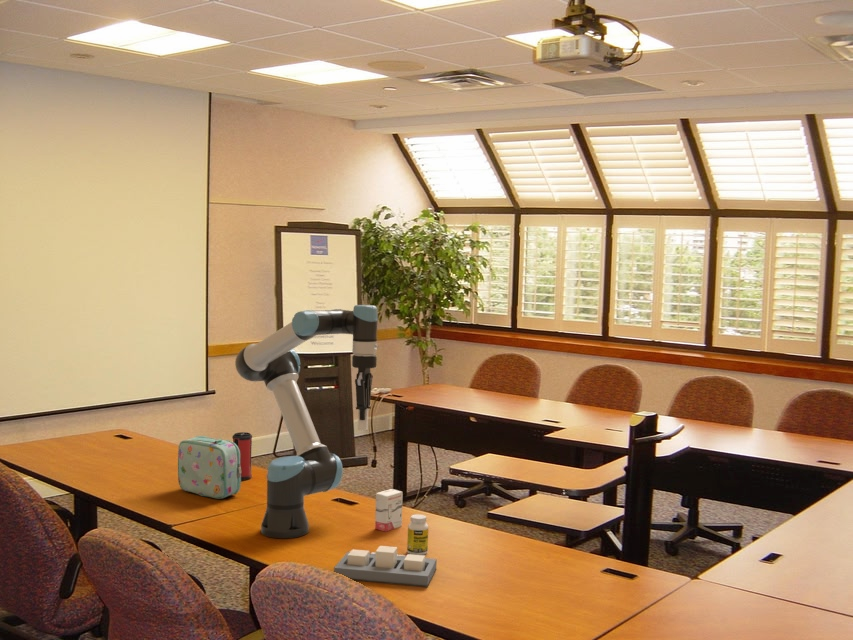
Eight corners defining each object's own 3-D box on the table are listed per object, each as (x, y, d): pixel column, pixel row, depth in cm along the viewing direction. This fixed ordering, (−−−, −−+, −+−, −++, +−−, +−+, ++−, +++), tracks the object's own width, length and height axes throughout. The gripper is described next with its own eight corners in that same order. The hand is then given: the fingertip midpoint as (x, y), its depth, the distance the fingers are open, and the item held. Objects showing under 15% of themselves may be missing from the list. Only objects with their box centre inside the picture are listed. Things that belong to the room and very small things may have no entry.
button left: (347, 570, 237) (347, 554, 237) (352, 564, 242) (352, 549, 242) (364, 572, 237) (365, 556, 236) (369, 566, 241) (369, 550, 241)
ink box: (385, 532, 276) (386, 496, 275) (374, 529, 279) (374, 493, 278) (402, 526, 283) (403, 491, 282) (391, 523, 286) (392, 488, 285)
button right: (403, 576, 235) (404, 559, 234) (407, 569, 239) (407, 554, 239) (421, 577, 234) (421, 561, 233) (424, 571, 239) (425, 555, 238)
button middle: (375, 567, 236) (375, 551, 236) (379, 561, 241) (380, 545, 241) (393, 568, 235) (393, 552, 235) (397, 562, 240) (397, 547, 240)
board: (333, 578, 234) (334, 567, 233) (347, 561, 247) (348, 551, 247) (427, 587, 229) (427, 576, 229) (436, 569, 243) (436, 559, 242)
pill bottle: (412, 557, 253) (413, 520, 252) (403, 550, 258) (404, 514, 257) (431, 554, 256) (432, 518, 255) (421, 548, 261) (422, 512, 260)
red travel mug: (249, 481, 337) (249, 435, 336) (229, 480, 337) (230, 435, 336) (253, 476, 345) (254, 432, 344) (234, 475, 345) (235, 431, 344)
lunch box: (246, 496, 314) (247, 439, 313) (225, 503, 305) (226, 443, 304) (195, 485, 328) (196, 430, 327) (174, 491, 319) (175, 434, 318)
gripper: (371, 357, 259) (369, 434, 260) (381, 353, 272) (379, 426, 273) (347, 356, 260) (345, 432, 261) (358, 352, 273) (356, 425, 274)
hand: (362, 429), depth 267 cm, fingers closed
